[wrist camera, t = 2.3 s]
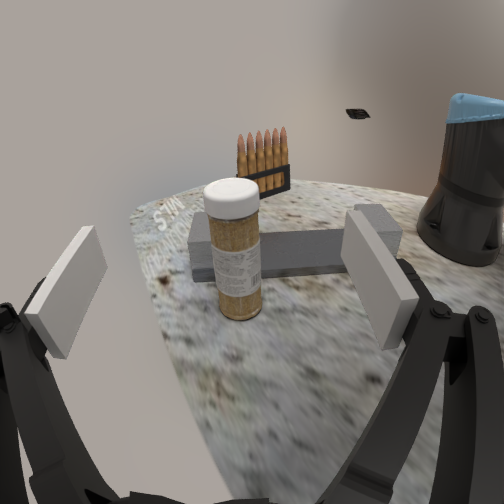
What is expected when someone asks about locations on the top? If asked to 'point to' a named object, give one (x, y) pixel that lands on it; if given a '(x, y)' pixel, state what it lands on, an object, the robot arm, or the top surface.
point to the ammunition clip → (265, 163)
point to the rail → (293, 247)
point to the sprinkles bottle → (235, 245)
